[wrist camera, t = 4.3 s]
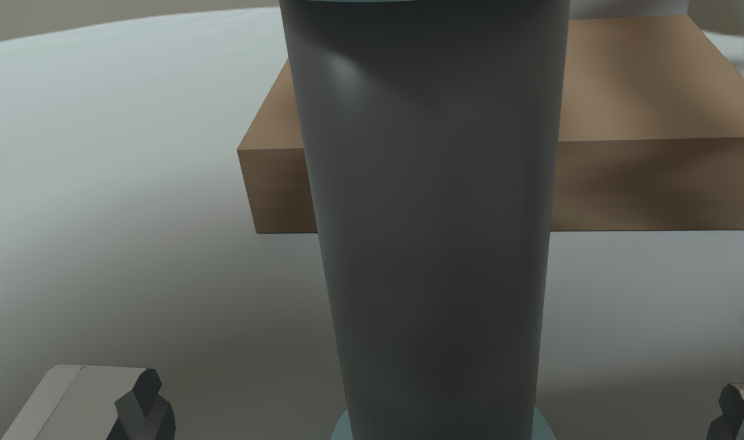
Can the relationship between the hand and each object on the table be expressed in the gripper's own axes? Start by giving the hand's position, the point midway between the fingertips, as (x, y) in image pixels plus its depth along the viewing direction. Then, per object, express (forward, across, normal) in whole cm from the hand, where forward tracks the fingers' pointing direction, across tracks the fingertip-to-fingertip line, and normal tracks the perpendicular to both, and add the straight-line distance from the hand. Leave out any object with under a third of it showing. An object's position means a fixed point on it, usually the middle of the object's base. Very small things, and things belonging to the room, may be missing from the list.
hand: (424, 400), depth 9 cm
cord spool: (+4, 0, +8) cm, 9 cm away
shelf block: (+22, -2, +8) cm, 23 cm away
